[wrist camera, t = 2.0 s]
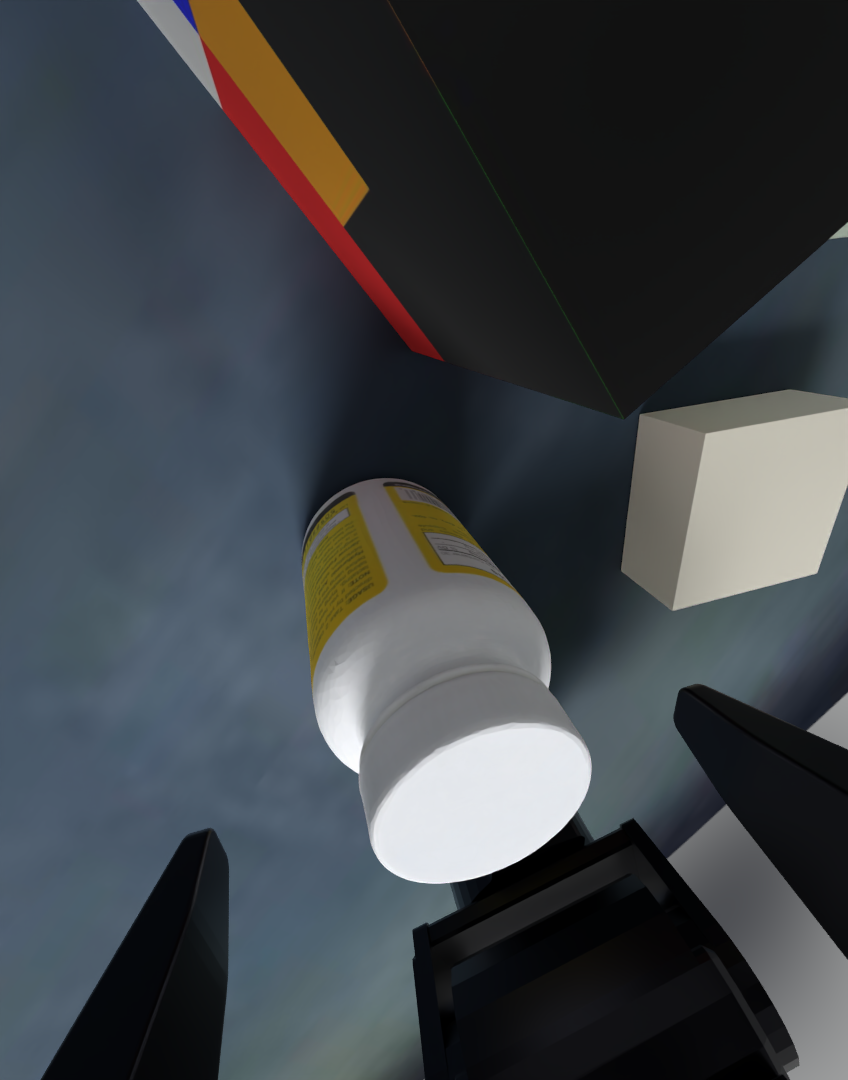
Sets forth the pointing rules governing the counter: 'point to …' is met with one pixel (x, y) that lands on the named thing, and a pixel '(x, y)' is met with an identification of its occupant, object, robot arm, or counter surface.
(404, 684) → the supplement bottle
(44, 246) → the counter surface
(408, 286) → the puzzle toy
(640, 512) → the base brick
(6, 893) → the counter surface
